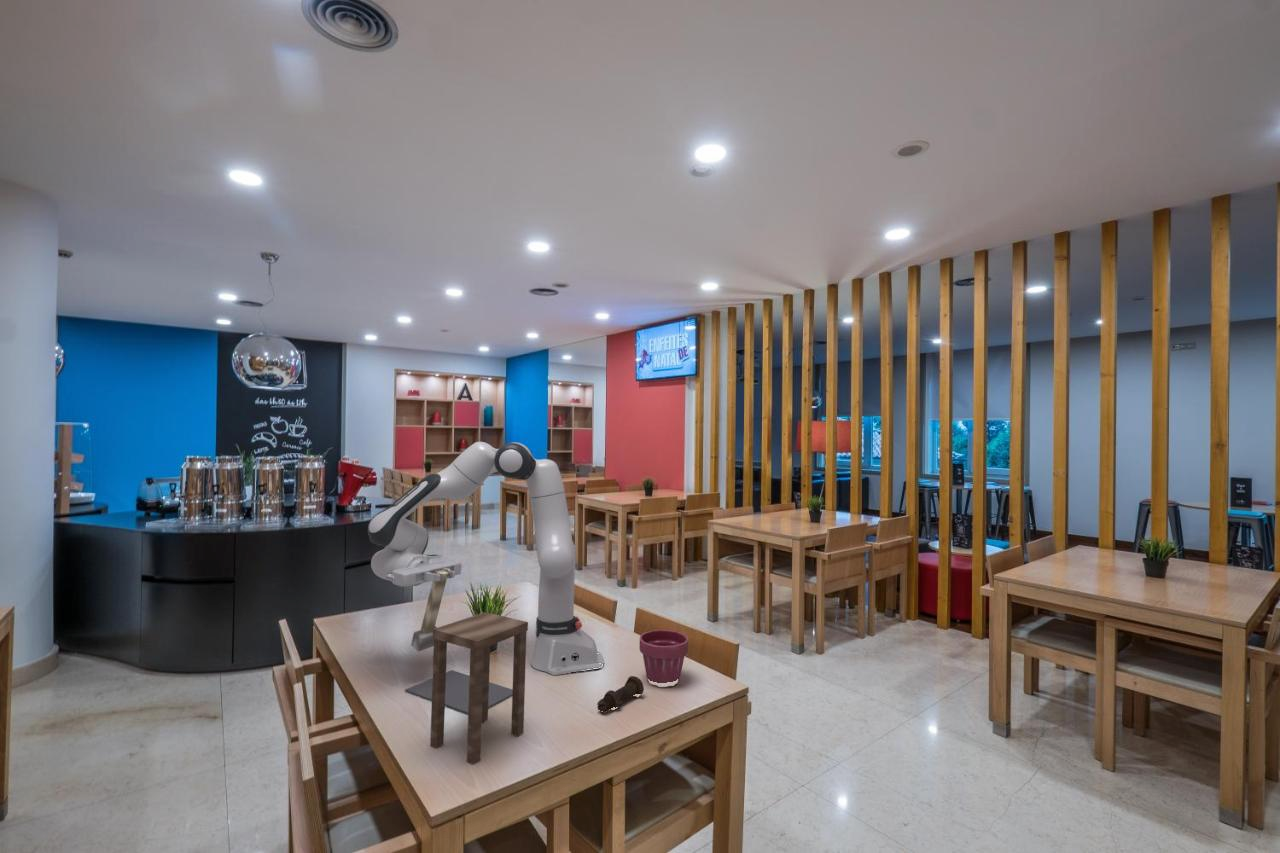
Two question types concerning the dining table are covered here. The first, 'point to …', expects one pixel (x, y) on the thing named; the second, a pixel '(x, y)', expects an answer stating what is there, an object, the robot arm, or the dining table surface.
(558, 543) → the robot arm
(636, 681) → the bolt
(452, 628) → the stool
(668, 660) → the plant pot
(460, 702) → the mat
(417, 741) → the dining table surface
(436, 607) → the hammer
